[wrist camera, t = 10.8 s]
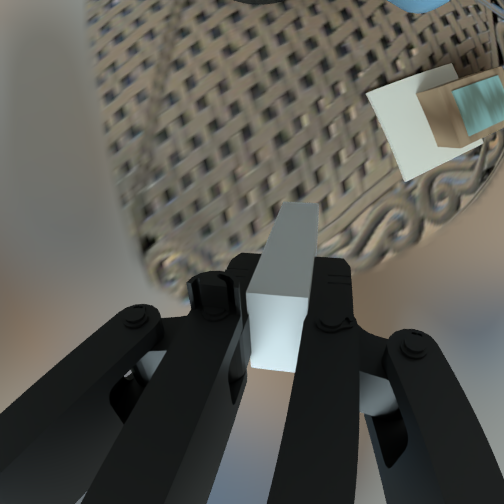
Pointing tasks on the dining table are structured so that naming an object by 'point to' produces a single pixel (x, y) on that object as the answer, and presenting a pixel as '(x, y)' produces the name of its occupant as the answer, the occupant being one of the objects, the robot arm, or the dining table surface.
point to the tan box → (465, 108)
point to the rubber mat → (413, 122)
